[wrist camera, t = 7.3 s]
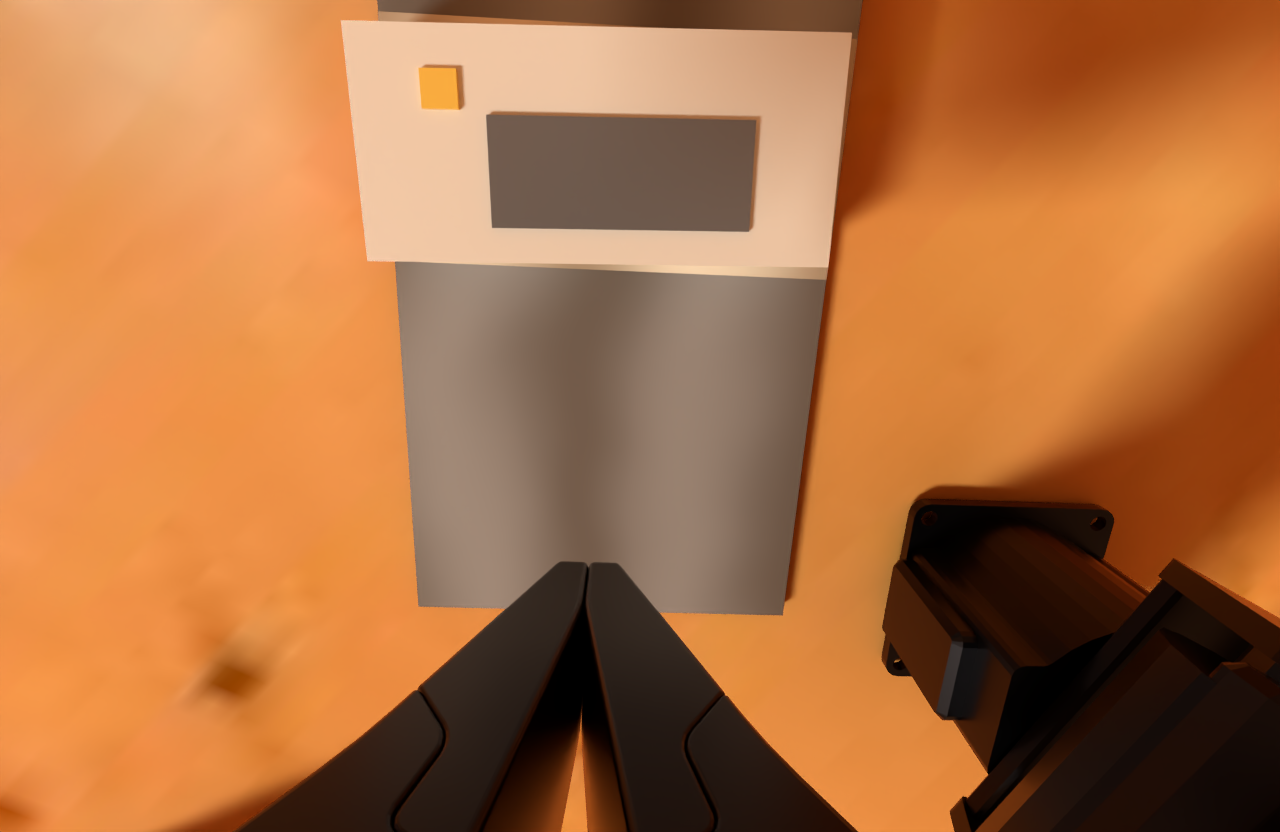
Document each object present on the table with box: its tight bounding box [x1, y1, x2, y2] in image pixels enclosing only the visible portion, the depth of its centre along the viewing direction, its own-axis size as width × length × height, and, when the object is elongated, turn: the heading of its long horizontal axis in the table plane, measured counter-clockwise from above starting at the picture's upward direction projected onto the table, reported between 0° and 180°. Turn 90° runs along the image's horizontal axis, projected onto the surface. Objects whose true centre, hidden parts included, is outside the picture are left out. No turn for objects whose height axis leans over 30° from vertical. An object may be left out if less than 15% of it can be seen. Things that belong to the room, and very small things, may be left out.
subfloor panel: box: [377, 0, 863, 615], centre depth 18 cm, size 12×20×1 cm, turn 177°
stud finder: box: [341, 20, 852, 267], centre depth 16 cm, size 11×5×3 cm, turn 89°
